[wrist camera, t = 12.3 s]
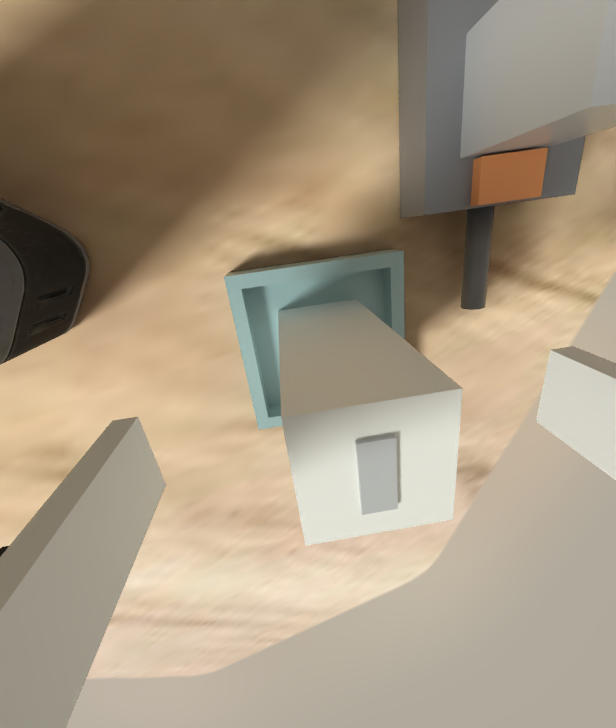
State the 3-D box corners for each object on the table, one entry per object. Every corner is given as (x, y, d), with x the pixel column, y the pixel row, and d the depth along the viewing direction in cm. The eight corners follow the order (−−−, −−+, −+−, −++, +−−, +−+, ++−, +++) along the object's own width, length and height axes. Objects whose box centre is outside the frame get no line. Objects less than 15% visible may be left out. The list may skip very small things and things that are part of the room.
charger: (278, 310, 18) (281, 421, 7) (356, 298, 18) (466, 391, 7) (289, 381, 19) (305, 550, 9) (360, 369, 19) (456, 524, 9)
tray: (228, 272, 17) (224, 276, 15) (391, 248, 17) (404, 250, 16) (260, 413, 21) (258, 429, 19) (395, 391, 21) (405, 405, 19)
